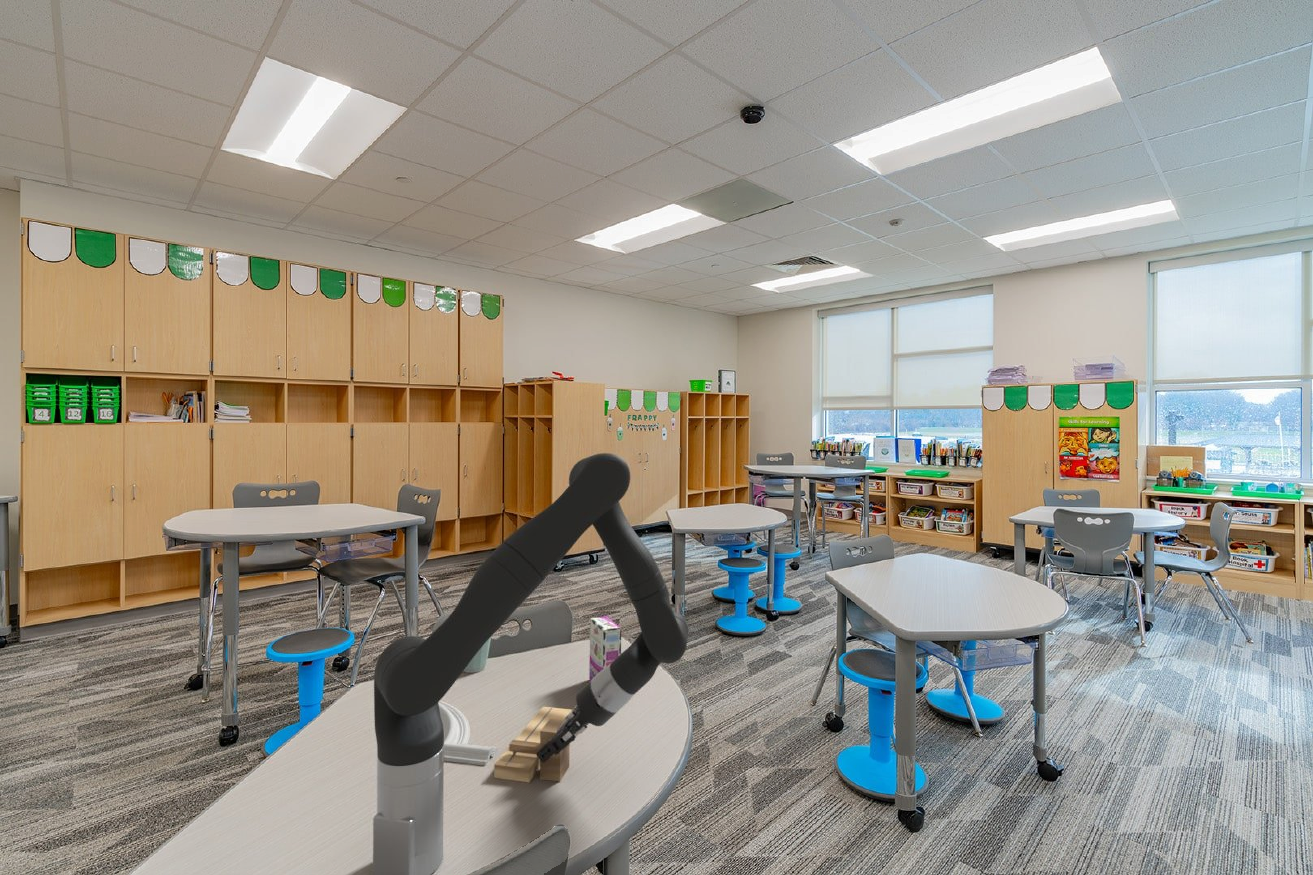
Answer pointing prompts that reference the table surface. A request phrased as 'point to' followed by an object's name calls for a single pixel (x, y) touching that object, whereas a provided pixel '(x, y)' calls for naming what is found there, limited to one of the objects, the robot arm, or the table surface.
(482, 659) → the disposable coffee cup
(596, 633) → the candy bar box
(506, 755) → the plank
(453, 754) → the molding
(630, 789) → the table surface
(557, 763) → the wooden block with tab
